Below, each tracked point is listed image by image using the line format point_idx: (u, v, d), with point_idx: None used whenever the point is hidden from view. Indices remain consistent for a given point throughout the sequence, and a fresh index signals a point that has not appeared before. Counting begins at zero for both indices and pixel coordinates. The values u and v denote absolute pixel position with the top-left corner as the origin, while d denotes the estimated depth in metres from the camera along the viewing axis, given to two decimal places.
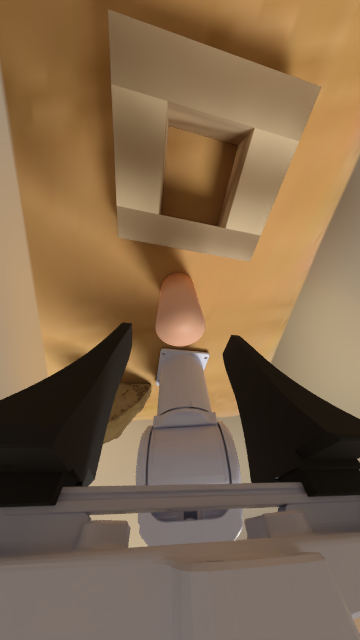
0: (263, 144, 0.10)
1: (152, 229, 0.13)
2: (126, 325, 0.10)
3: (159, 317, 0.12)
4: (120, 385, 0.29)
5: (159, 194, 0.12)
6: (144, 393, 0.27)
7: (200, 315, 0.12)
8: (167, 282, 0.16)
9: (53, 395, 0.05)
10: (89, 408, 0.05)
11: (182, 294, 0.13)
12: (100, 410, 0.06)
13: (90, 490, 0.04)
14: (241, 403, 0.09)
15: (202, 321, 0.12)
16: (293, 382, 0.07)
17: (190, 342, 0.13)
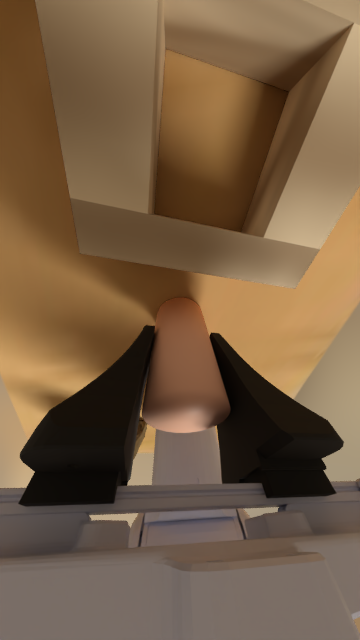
0: None
1: (138, 239, 0.07)
2: (150, 327, 0.10)
3: (148, 403, 0.06)
4: None
5: (148, 176, 0.06)
6: (137, 436, 0.22)
7: (224, 399, 0.06)
8: (165, 315, 0.11)
9: (107, 397, 0.05)
10: (135, 410, 0.05)
11: (189, 350, 0.08)
12: (137, 412, 0.07)
13: None
14: None
15: (226, 405, 0.07)
16: (263, 380, 0.07)
17: (202, 428, 0.08)
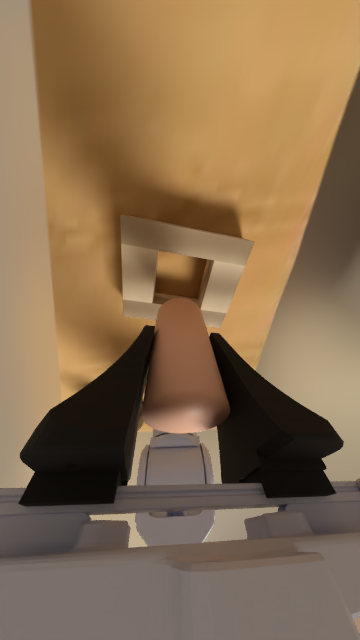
0: (221, 267, 0.15)
1: (148, 311, 0.18)
2: (150, 327, 0.10)
3: (148, 404, 0.06)
4: None
5: (152, 292, 0.17)
6: None
7: (223, 400, 0.06)
8: (164, 316, 0.11)
9: (106, 397, 0.05)
10: (135, 410, 0.05)
11: (189, 351, 0.08)
12: (137, 412, 0.07)
13: None
14: None
15: (226, 406, 0.07)
16: (263, 380, 0.07)
17: (202, 429, 0.08)
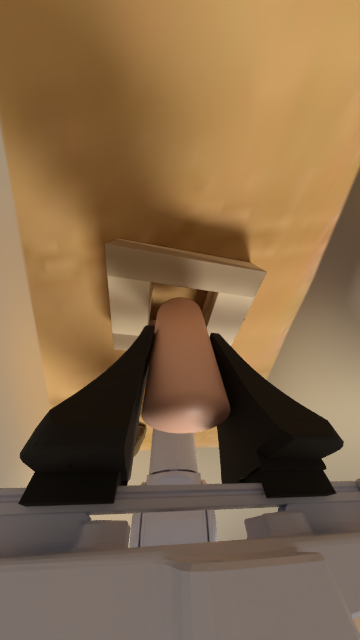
0: (226, 299, 0.13)
1: None
2: (150, 327, 0.10)
3: (148, 404, 0.06)
4: None
5: None
6: (139, 437, 0.30)
7: (223, 400, 0.06)
8: (165, 315, 0.11)
9: (107, 397, 0.05)
10: (135, 410, 0.05)
11: (189, 350, 0.08)
12: (137, 411, 0.07)
13: None
14: None
15: (226, 406, 0.07)
16: (263, 380, 0.07)
17: (202, 429, 0.08)
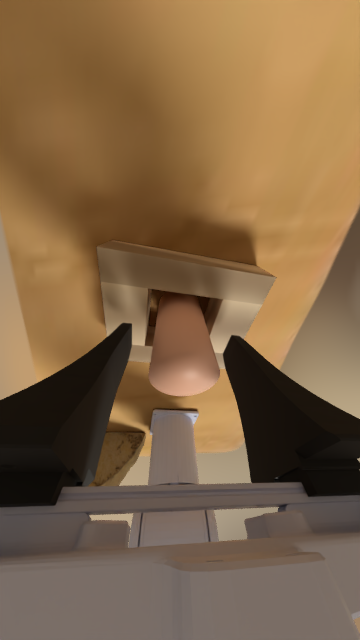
0: (231, 307, 0.12)
1: (140, 354, 0.14)
2: (126, 325, 0.10)
3: (154, 364, 0.08)
4: (116, 435, 0.30)
5: (144, 334, 0.13)
6: (138, 445, 0.29)
7: (213, 361, 0.08)
8: (166, 302, 0.13)
9: (54, 394, 0.05)
10: (89, 408, 0.05)
11: (187, 326, 0.09)
12: (100, 410, 0.06)
13: (90, 490, 0.04)
14: (241, 403, 0.09)
15: (216, 368, 0.08)
16: (293, 382, 0.07)
17: (197, 391, 0.10)
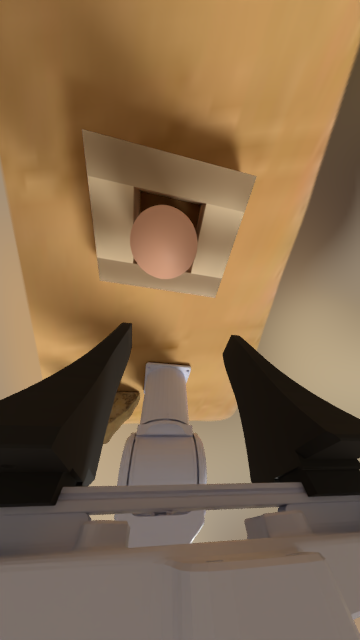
0: (215, 214, 0.13)
1: (129, 274, 0.15)
2: (126, 325, 0.10)
3: (134, 225, 0.09)
4: None
5: None
6: (132, 401, 0.30)
7: (190, 224, 0.09)
8: None
9: (53, 395, 0.05)
10: (89, 408, 0.05)
11: None
12: (100, 410, 0.06)
13: (90, 490, 0.04)
14: (241, 403, 0.09)
15: (193, 234, 0.09)
16: (293, 382, 0.07)
17: (178, 272, 0.10)
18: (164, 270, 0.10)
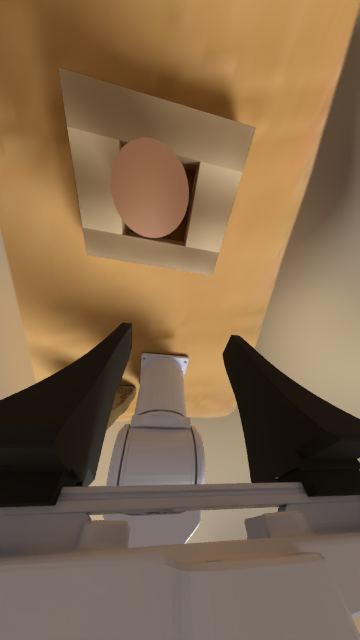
0: (210, 175, 0.11)
1: (118, 247, 0.14)
2: (126, 325, 0.10)
3: (114, 166, 0.07)
4: None
5: None
6: (128, 395, 0.28)
7: (180, 164, 0.07)
8: None
9: (53, 395, 0.05)
10: (89, 408, 0.05)
11: None
12: (100, 410, 0.06)
13: (90, 490, 0.04)
14: (241, 403, 0.09)
15: (183, 178, 0.08)
16: (293, 382, 0.07)
17: (168, 229, 0.09)
18: (152, 226, 0.09)
